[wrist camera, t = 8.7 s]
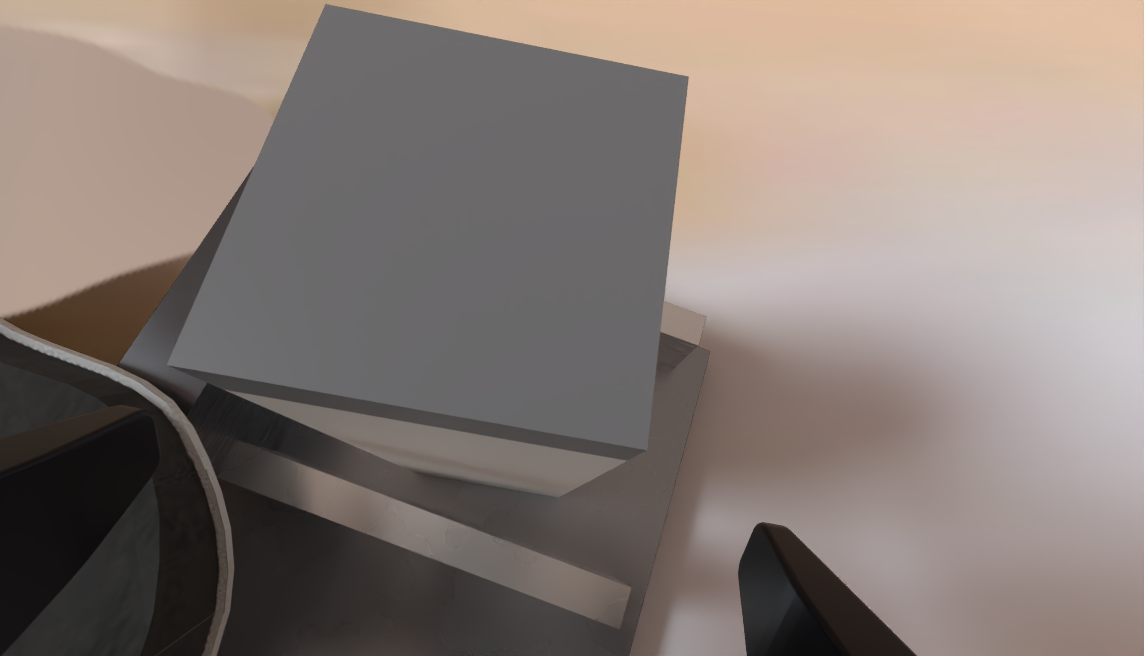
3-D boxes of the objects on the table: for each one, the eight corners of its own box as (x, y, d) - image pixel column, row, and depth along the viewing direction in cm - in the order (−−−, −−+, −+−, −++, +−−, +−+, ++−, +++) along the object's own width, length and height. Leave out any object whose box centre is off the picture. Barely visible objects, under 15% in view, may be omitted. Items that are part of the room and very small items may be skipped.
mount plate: (701, 359, 20) (773, 296, 14) (554, 897, 14) (576, 1143, 9) (349, 232, 20) (283, 122, 15) (75, 709, 15) (-200, 828, 9)
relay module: (581, 354, 18) (689, 67, 7) (558, 497, 17) (647, 450, 5) (451, 330, 18) (329, -5, 7) (415, 472, 17) (166, 365, 5)
